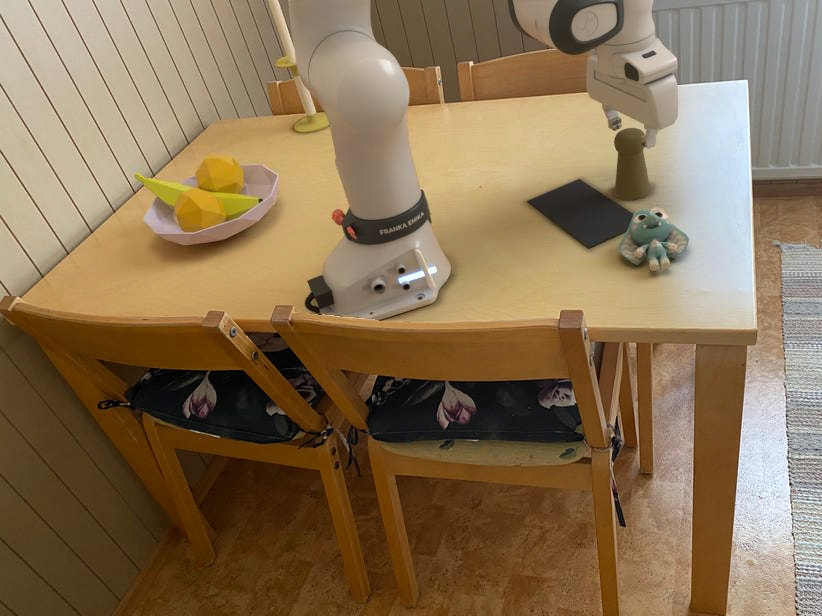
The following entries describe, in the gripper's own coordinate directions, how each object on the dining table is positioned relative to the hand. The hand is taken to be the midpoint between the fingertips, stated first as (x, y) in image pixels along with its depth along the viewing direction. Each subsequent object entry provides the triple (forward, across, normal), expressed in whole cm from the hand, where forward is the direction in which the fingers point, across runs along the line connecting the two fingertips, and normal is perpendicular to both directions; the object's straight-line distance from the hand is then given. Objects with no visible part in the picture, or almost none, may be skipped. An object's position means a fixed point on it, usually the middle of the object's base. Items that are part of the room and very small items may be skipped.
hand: (631, 137), depth 124 cm
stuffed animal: (+10, +18, -9) cm, 22 cm away
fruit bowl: (+9, -48, -66) cm, 82 cm away
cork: (+10, 0, 0) cm, 10 cm away
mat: (+10, 0, -10) cm, 14 cm away
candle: (+10, -80, -36) cm, 88 cm away
